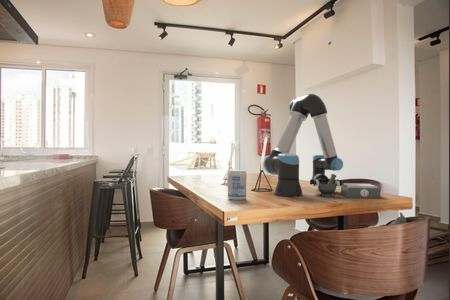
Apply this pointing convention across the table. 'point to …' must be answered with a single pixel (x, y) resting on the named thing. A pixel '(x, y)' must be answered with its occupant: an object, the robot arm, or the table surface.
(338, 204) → the table surface
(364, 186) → the kitchen scale
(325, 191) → the mortar and pestle
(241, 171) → the supplement tub
